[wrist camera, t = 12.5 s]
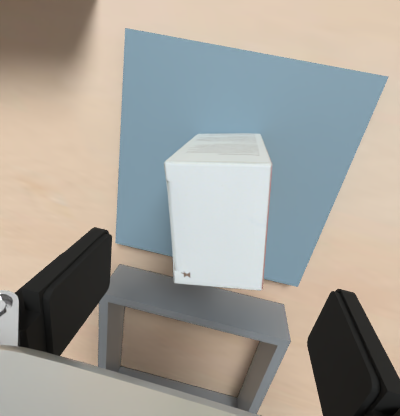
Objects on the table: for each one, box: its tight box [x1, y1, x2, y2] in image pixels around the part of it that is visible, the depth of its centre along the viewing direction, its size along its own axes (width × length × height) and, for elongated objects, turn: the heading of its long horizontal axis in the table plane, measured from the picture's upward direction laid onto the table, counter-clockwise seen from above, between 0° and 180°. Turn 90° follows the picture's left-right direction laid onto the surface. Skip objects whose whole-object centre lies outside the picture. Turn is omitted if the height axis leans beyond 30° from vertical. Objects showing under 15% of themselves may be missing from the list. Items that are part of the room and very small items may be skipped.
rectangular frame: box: [98, 264, 291, 414], centre depth 33 cm, size 20×20×5 cm
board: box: [116, 28, 388, 287], centre depth 25 cm, size 20×20×2 cm
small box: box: [164, 133, 272, 290], centre depth 19 cm, size 8×6×10 cm
